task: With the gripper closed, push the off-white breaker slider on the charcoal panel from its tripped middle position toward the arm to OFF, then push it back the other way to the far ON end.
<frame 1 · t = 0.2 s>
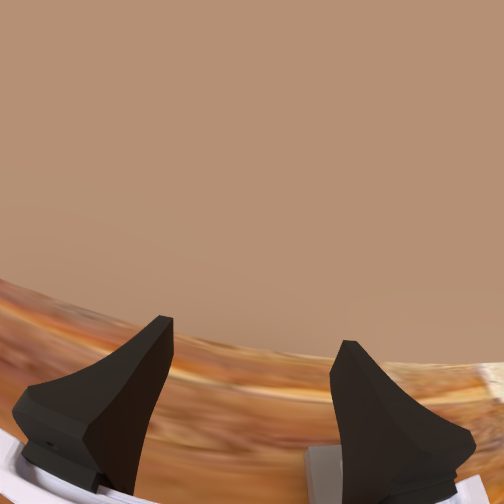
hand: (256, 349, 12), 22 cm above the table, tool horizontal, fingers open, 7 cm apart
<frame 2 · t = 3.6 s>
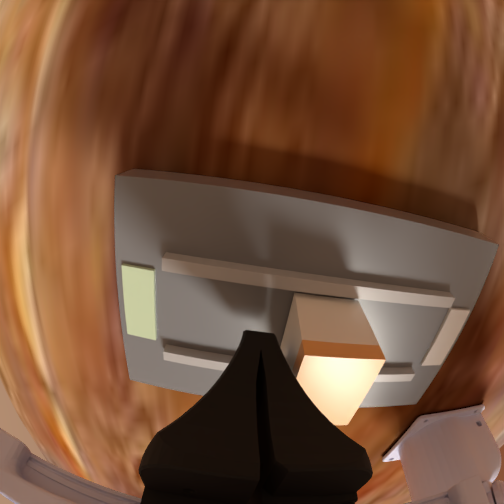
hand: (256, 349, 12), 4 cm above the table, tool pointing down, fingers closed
breaker slider: (322, 360, 12), point 4 cm above the table, slide at 4.8 cm, touching gripper
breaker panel: (307, 306, 16), on the table
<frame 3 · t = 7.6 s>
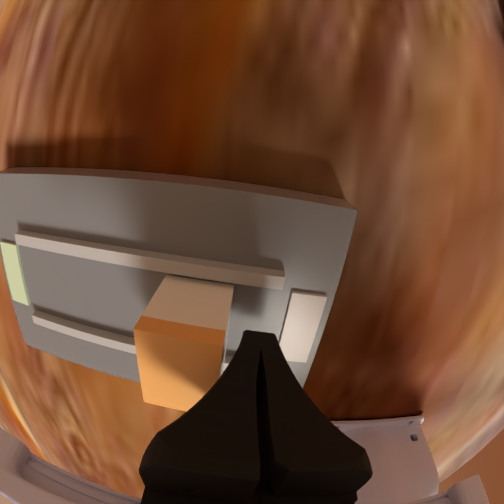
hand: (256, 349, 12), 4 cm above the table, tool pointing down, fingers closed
breaker slider: (188, 344, 12), point 4 cm above the table, slide at 1.5 cm, touching gripper
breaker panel: (143, 282, 15), on the table
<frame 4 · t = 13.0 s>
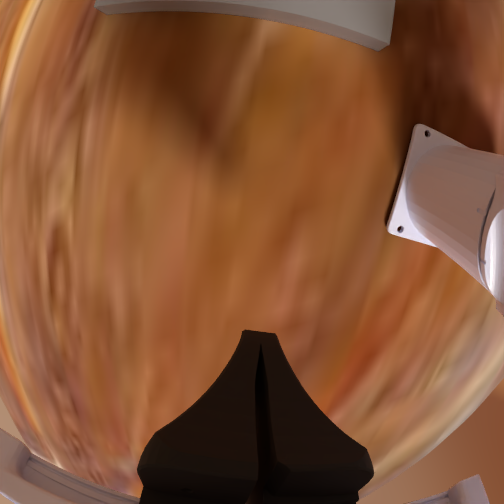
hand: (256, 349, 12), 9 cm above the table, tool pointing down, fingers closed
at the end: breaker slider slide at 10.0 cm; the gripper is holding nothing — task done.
